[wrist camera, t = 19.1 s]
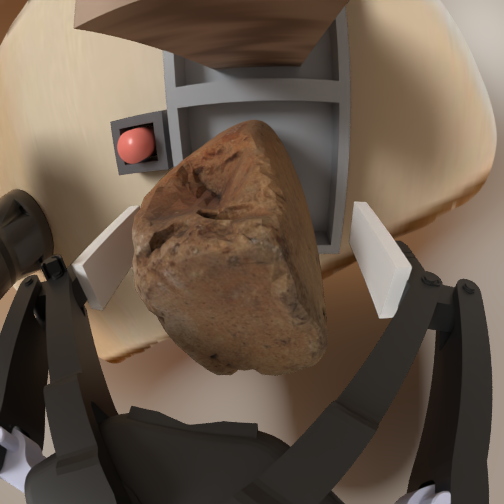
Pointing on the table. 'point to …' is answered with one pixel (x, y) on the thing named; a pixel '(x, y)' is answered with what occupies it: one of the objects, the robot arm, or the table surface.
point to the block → (233, 256)
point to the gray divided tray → (277, 117)
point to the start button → (137, 144)
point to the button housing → (161, 139)
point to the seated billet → (216, 28)
